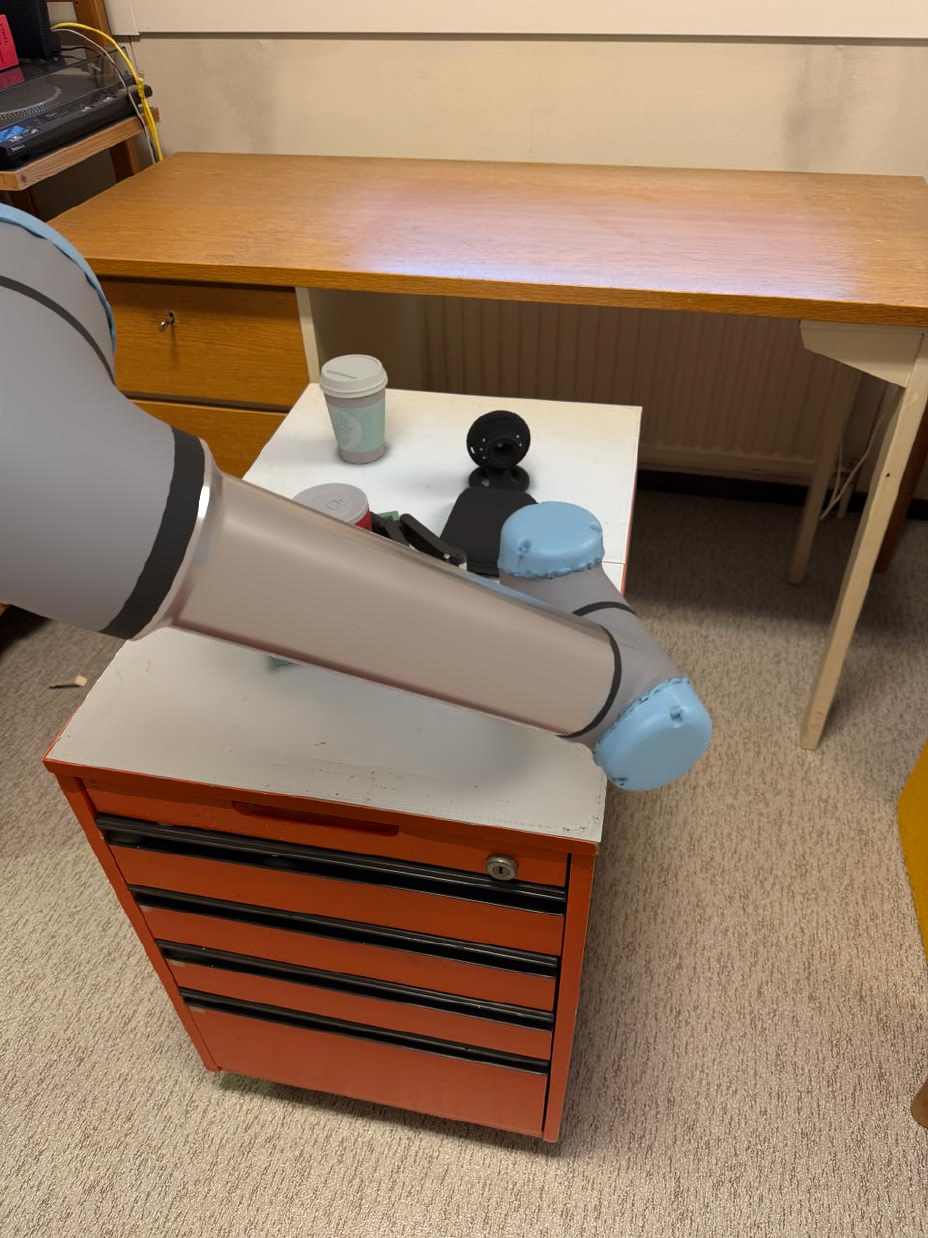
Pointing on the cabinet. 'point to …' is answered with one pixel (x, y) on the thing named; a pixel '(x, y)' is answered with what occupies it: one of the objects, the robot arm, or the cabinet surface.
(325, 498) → the canned food
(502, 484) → the webcam
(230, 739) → the cabinet surface
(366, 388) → the coffee cup
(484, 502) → the carrying case
